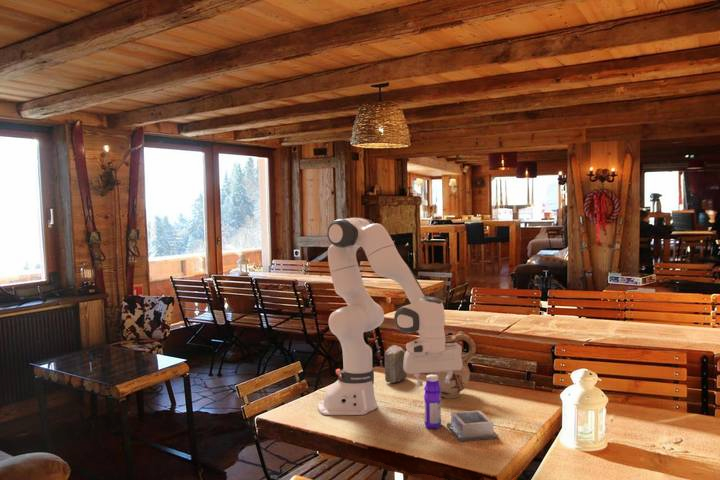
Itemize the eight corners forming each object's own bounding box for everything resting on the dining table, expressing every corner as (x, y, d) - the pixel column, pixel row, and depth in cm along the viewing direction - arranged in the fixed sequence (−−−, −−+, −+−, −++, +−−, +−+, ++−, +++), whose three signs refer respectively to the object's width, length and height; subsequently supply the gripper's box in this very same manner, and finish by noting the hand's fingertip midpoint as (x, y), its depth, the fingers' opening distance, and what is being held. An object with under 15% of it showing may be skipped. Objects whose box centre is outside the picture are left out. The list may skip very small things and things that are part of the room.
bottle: (440, 430, 186) (440, 379, 185) (423, 429, 187) (423, 378, 186) (441, 422, 193) (441, 373, 192) (425, 421, 194) (424, 372, 193)
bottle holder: (459, 441, 177) (459, 426, 176) (446, 426, 189) (446, 412, 189) (498, 438, 179) (498, 423, 178) (482, 423, 192) (482, 409, 191)
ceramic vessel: (444, 384, 234) (444, 326, 233) (483, 394, 221) (483, 333, 220) (417, 395, 221) (416, 334, 220) (457, 407, 208) (456, 341, 207)
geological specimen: (395, 385, 235) (395, 350, 234) (383, 383, 238) (382, 348, 238) (407, 378, 244) (407, 345, 243) (395, 376, 247) (394, 343, 247)
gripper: (458, 340, 193) (459, 379, 194) (401, 344, 190) (402, 384, 191) (464, 344, 187) (465, 384, 188) (406, 348, 184) (407, 389, 184)
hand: (433, 384), depth 189 cm, fingers open, 8 cm apart
